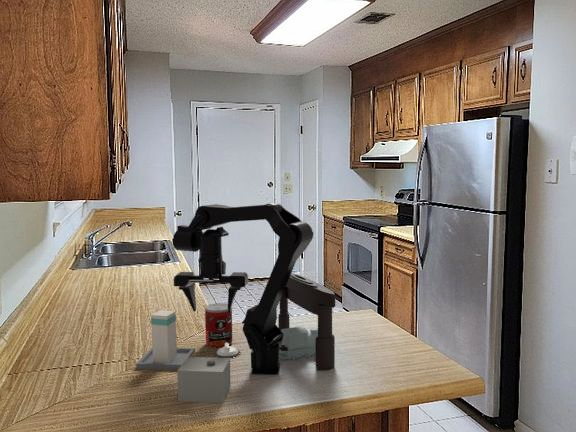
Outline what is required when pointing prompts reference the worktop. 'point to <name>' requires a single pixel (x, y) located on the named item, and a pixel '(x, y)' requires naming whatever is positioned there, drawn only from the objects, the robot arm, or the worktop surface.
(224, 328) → the canned food
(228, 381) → the unit
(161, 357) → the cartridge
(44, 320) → the worktop surface
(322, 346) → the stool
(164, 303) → the worktop surface
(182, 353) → the tray
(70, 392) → the worktop surface
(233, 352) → the stove knob
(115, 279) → the worktop surface
